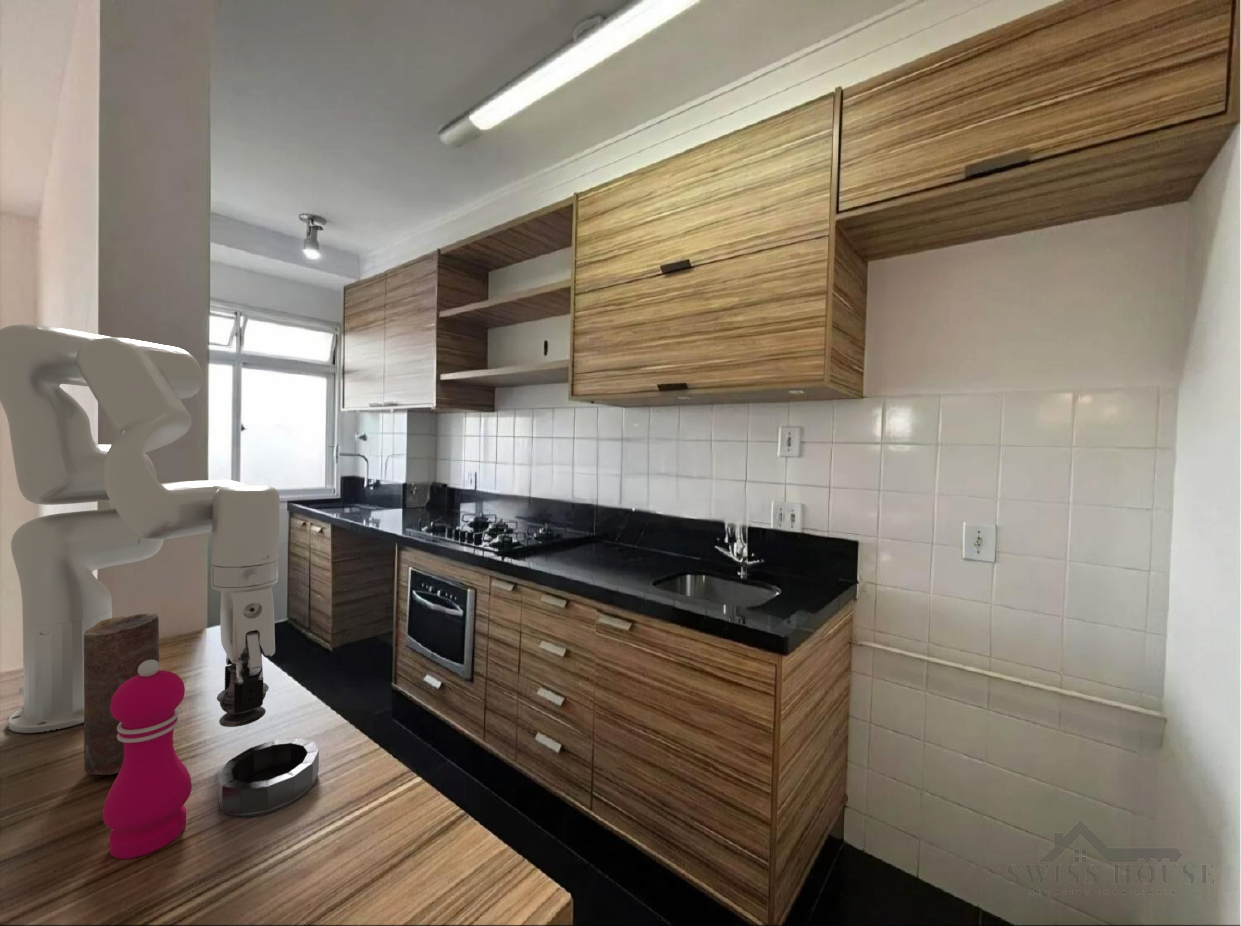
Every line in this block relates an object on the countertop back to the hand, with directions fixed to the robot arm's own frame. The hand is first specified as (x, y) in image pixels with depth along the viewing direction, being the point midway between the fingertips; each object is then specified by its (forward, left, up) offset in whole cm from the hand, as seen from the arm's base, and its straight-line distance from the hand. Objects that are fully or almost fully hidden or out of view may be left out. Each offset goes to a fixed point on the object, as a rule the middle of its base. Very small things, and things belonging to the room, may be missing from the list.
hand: (243, 698), depth 72 cm
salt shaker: (0, 0, -3) cm, 3 cm away
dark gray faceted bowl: (+10, -5, -8) cm, 14 cm away
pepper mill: (+5, -15, -8) cm, 18 cm away
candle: (-12, -7, -8) cm, 16 cm away
